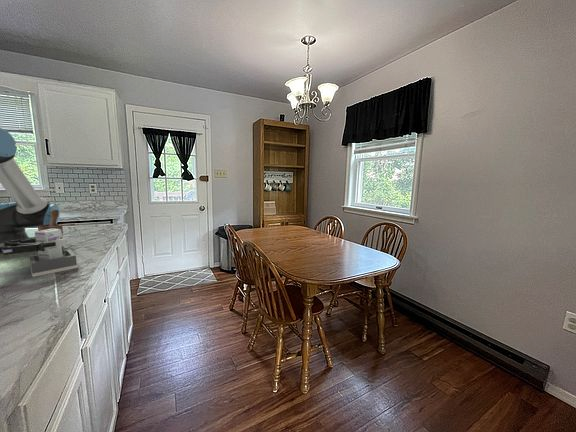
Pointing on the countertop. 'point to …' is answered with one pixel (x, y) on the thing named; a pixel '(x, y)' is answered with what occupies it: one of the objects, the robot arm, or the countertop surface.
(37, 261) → the box
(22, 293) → the countertop surface
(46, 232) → the syrup box
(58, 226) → the mortar and pestle
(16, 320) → the countertop surface
